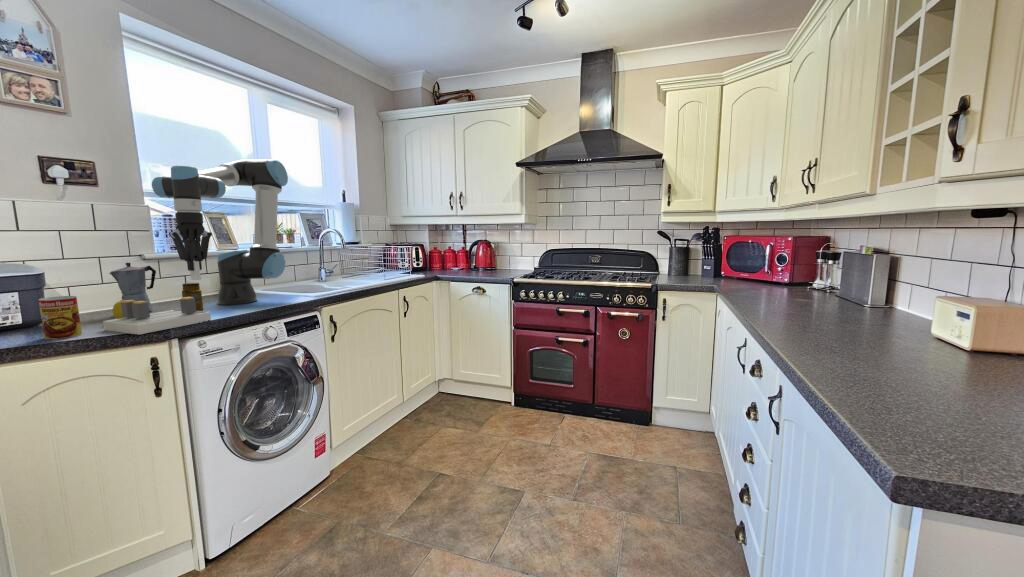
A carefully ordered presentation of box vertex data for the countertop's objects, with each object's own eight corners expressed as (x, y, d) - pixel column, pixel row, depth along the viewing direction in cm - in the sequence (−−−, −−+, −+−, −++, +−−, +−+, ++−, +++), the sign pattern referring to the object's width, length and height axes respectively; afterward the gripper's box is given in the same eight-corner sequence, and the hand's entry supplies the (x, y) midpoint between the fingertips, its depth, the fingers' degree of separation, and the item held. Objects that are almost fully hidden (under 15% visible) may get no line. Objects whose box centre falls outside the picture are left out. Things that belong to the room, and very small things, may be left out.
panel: (178, 317, 156) (177, 308, 155) (211, 320, 150) (210, 311, 149) (104, 330, 135) (103, 320, 135) (138, 334, 129) (137, 324, 129)
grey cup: (144, 316, 139) (142, 300, 139) (150, 317, 138) (148, 301, 138) (133, 318, 137) (131, 301, 136) (139, 319, 135) (137, 302, 135)
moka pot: (107, 315, 160) (99, 263, 157) (150, 308, 174) (144, 260, 172) (125, 316, 157) (118, 263, 155) (168, 309, 172) (162, 260, 169)
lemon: (119, 321, 150) (116, 299, 148) (138, 319, 151) (135, 298, 150) (110, 324, 144) (107, 301, 143) (131, 322, 146) (127, 300, 145)
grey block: (190, 311, 147) (189, 296, 146) (196, 312, 146) (194, 296, 145) (181, 313, 144) (179, 297, 144) (187, 314, 143) (185, 298, 143)
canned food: (41, 341, 122) (34, 300, 121) (49, 335, 129) (42, 297, 127) (78, 336, 127) (72, 298, 125) (84, 332, 133) (79, 295, 132)
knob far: (133, 315, 141) (131, 299, 141) (138, 316, 140) (136, 300, 140) (122, 317, 139) (120, 300, 138) (128, 317, 138) (125, 301, 137)
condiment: (204, 311, 167) (201, 281, 166) (206, 314, 161) (202, 283, 159) (181, 313, 163) (177, 283, 161) (182, 317, 156) (178, 285, 155)
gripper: (175, 210, 136) (183, 282, 140) (215, 212, 149) (221, 278, 152) (160, 211, 139) (168, 281, 142) (201, 213, 151) (207, 277, 154)
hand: (196, 279), depth 147 cm, fingers closed
